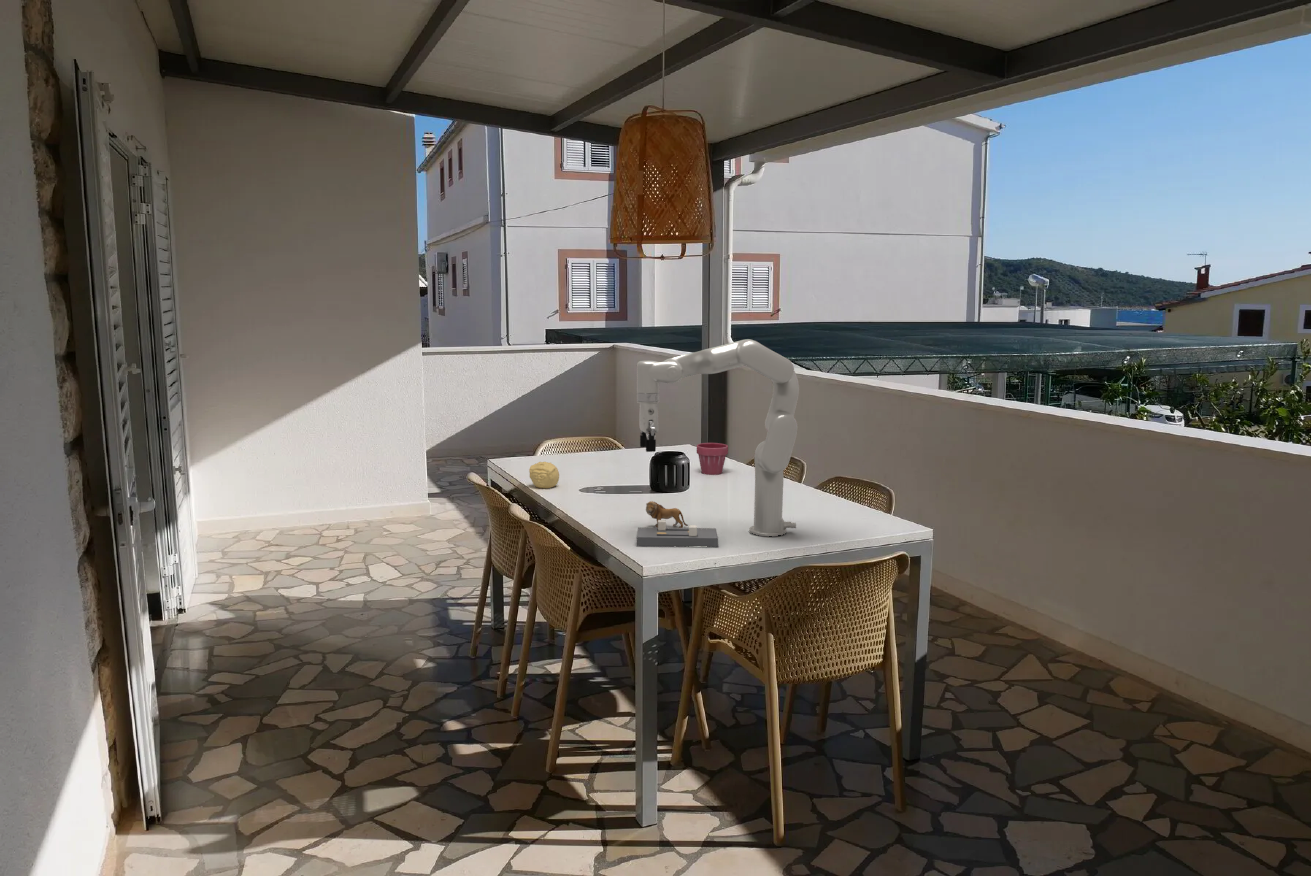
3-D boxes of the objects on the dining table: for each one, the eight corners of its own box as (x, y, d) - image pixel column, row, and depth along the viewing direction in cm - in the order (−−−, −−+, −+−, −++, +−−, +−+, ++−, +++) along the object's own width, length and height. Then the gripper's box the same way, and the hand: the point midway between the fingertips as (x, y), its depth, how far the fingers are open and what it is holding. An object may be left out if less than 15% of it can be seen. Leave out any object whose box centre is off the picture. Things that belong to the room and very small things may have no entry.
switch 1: (665, 530, 314) (665, 519, 314) (665, 533, 311) (665, 522, 311) (658, 530, 314) (658, 519, 314) (657, 533, 311) (658, 522, 311)
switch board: (715, 537, 316) (715, 527, 315) (717, 547, 303) (718, 537, 303) (637, 536, 316) (637, 527, 316) (636, 546, 303) (636, 536, 303)
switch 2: (696, 536, 307) (696, 525, 307) (696, 538, 304) (696, 527, 304) (688, 536, 307) (688, 525, 307) (688, 538, 304) (689, 527, 304)
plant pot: (720, 477, 419) (720, 448, 417) (691, 474, 425) (691, 446, 423) (732, 471, 432) (732, 444, 430) (703, 469, 438) (704, 441, 436)
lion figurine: (645, 528, 327) (645, 503, 325) (645, 524, 332) (646, 499, 331) (688, 529, 327) (688, 503, 325) (687, 525, 332) (688, 500, 331)
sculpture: (525, 488, 391) (525, 462, 389) (539, 483, 402) (539, 458, 400) (550, 490, 387) (550, 464, 385) (563, 485, 398) (563, 460, 397)
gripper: (664, 400, 306) (664, 453, 308) (653, 395, 323) (653, 444, 325) (641, 401, 304) (641, 453, 307) (632, 395, 321) (631, 445, 324)
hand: (647, 449), depth 316 cm, fingers open, 9 cm apart
